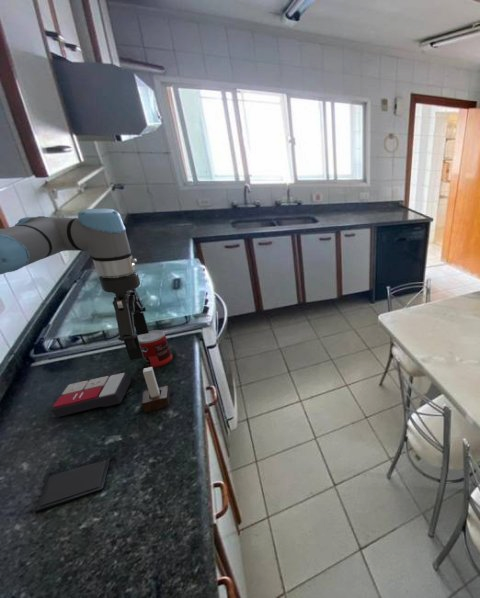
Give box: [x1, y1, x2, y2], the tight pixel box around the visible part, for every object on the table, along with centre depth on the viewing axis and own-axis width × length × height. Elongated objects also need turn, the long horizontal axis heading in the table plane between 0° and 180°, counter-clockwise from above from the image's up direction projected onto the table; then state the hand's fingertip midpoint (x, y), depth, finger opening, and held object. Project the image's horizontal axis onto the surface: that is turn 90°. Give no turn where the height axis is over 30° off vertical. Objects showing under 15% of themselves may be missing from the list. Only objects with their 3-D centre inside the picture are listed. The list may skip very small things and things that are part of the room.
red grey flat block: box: [50, 372, 132, 418], centre depth 98 cm, size 11×4×15 cm
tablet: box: [34, 457, 111, 514], centre depth 75 cm, size 11×9×1 cm
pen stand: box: [141, 385, 171, 414], centre depth 98 cm, size 6×6×4 cm
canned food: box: [137, 329, 173, 369], centre depth 114 cm, size 8×8×11 cm
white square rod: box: [142, 367, 161, 398], centre depth 96 cm, size 2×2×13 cm
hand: (140, 345), depth 91 cm, fingers open, 13 cm apart
